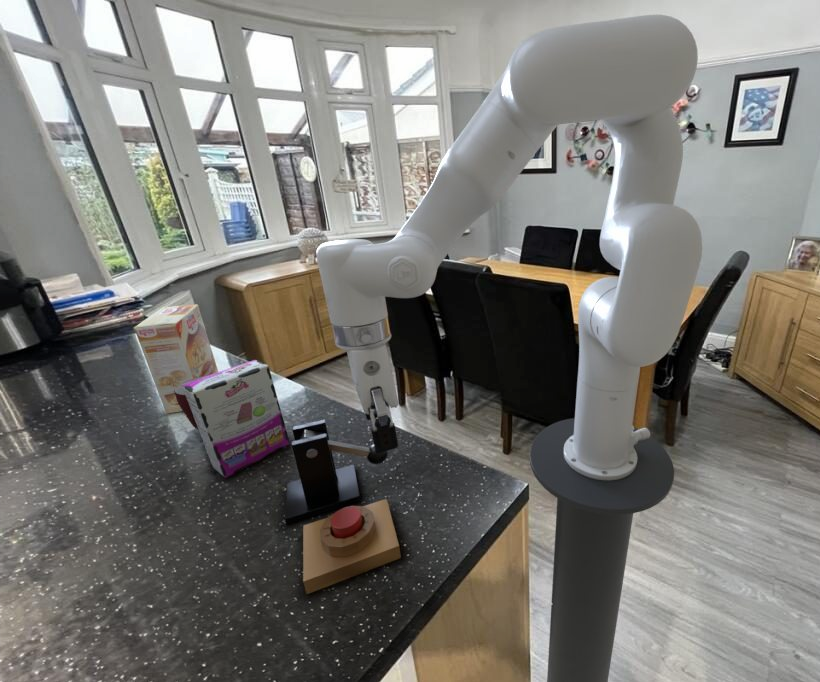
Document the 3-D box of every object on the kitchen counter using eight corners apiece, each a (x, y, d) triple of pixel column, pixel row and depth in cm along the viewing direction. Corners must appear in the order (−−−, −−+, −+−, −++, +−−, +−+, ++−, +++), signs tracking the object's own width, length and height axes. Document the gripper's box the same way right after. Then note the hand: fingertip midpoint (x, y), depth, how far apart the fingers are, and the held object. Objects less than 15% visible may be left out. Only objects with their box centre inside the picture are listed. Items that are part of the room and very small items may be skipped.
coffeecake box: (205, 408, 85) (176, 323, 77) (164, 415, 82) (130, 327, 75) (222, 378, 98) (199, 303, 90) (187, 383, 95) (160, 306, 88)
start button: (360, 512, 53) (359, 502, 53) (364, 532, 50) (362, 522, 50) (332, 522, 52) (329, 512, 51) (334, 543, 49) (331, 532, 48)
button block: (388, 510, 58) (385, 488, 57) (400, 558, 51) (397, 535, 49) (306, 537, 54) (300, 515, 52) (306, 594, 46) (299, 570, 45)
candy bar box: (276, 435, 75) (255, 358, 69) (291, 444, 73) (270, 364, 67) (210, 468, 67) (179, 383, 61) (224, 479, 64) (193, 391, 58)
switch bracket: (355, 470, 66) (343, 410, 62) (360, 502, 60) (348, 437, 55) (288, 488, 62) (271, 426, 58) (286, 525, 56) (267, 457, 51)
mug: (211, 413, 83) (197, 370, 79) (252, 409, 84) (240, 367, 80) (181, 443, 73) (163, 396, 69) (228, 439, 74) (213, 393, 71)
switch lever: (380, 458, 65) (388, 441, 65) (384, 469, 62) (392, 452, 62) (297, 443, 58) (305, 425, 58) (296, 456, 55) (305, 436, 55)
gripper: (401, 345, 49) (418, 456, 56) (379, 310, 64) (395, 401, 70) (338, 358, 46) (363, 473, 53) (330, 318, 61) (350, 412, 67)
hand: (381, 432), depth 62 cm, fingers open, 9 cm apart
